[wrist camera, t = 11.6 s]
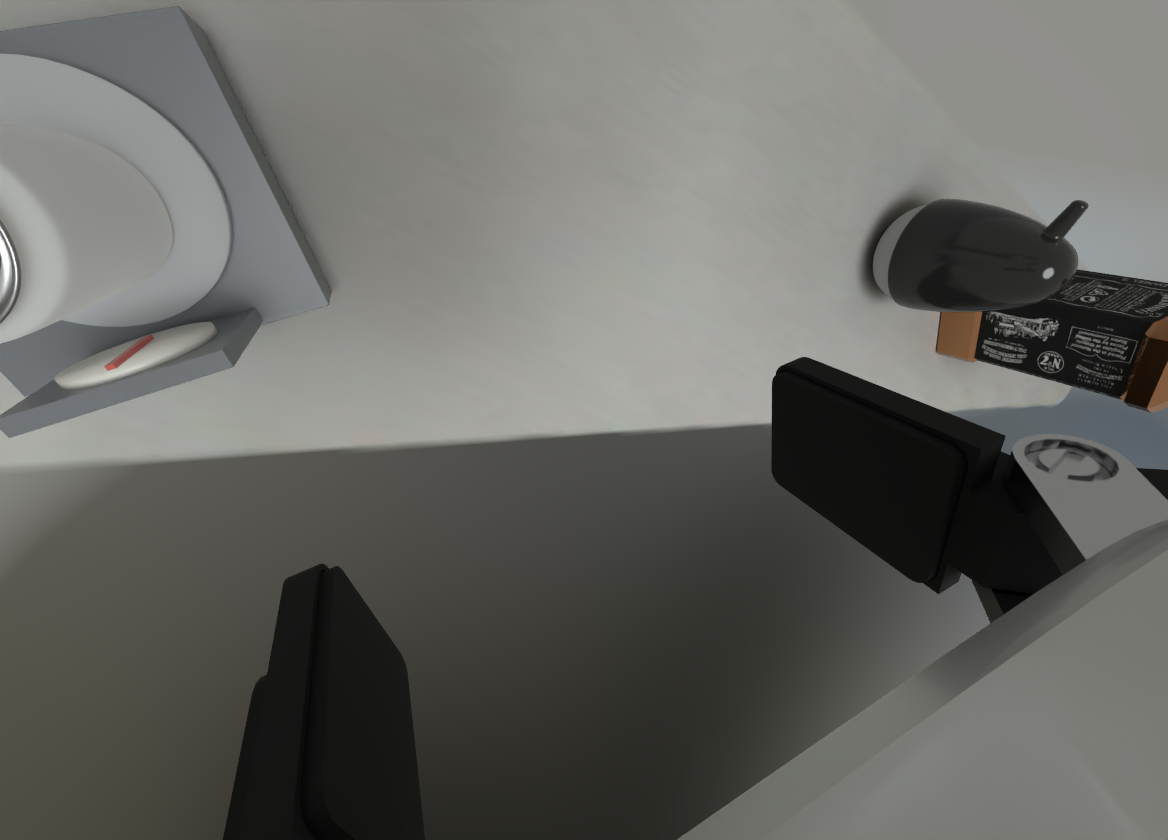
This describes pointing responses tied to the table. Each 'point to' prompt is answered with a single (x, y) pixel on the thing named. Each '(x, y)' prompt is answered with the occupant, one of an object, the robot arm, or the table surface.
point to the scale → (190, 195)
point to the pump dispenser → (974, 257)
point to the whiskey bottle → (1077, 338)
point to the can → (70, 227)
